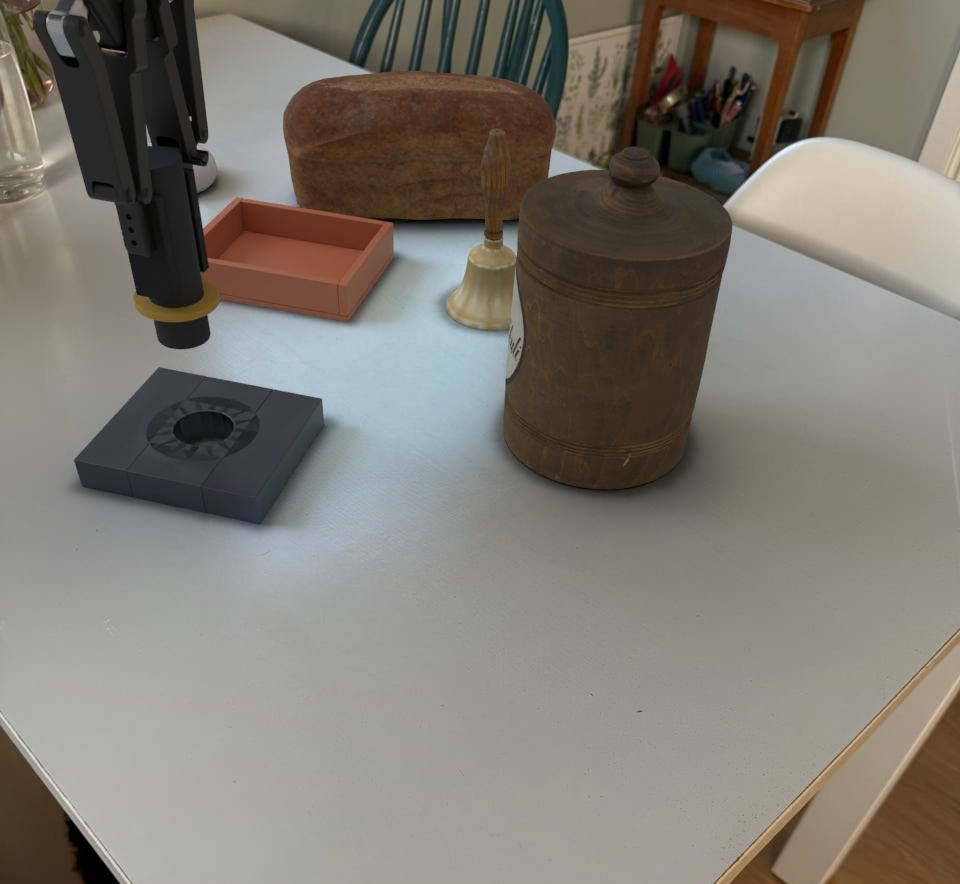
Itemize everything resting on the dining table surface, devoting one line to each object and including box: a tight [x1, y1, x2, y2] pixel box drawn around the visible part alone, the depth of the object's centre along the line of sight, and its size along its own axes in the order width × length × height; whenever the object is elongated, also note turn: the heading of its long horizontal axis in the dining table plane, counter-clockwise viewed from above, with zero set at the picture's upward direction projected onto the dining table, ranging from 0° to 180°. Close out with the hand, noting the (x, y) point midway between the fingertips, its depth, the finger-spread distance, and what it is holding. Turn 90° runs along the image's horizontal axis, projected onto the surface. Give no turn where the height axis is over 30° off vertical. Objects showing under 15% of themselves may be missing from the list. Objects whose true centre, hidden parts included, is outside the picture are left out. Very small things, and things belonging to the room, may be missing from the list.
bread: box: [282, 70, 557, 221], centre depth 103 cm, size 14×28×12 cm, turn 96°
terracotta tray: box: [201, 196, 395, 323], centre depth 94 cm, size 17×14×4 cm
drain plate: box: [73, 366, 325, 525], centre depth 75 cm, size 14×13×2 cm
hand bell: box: [445, 129, 517, 332], centre depth 87 cm, size 8×8×16 cm
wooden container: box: [502, 146, 733, 490], centre depth 72 cm, size 15×15×22 cm
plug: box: [133, 146, 221, 350], centre depth 64 cm, size 6×6×12 cm
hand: (173, 280), depth 65 cm, fingers closed on plug, 4 cm apart
